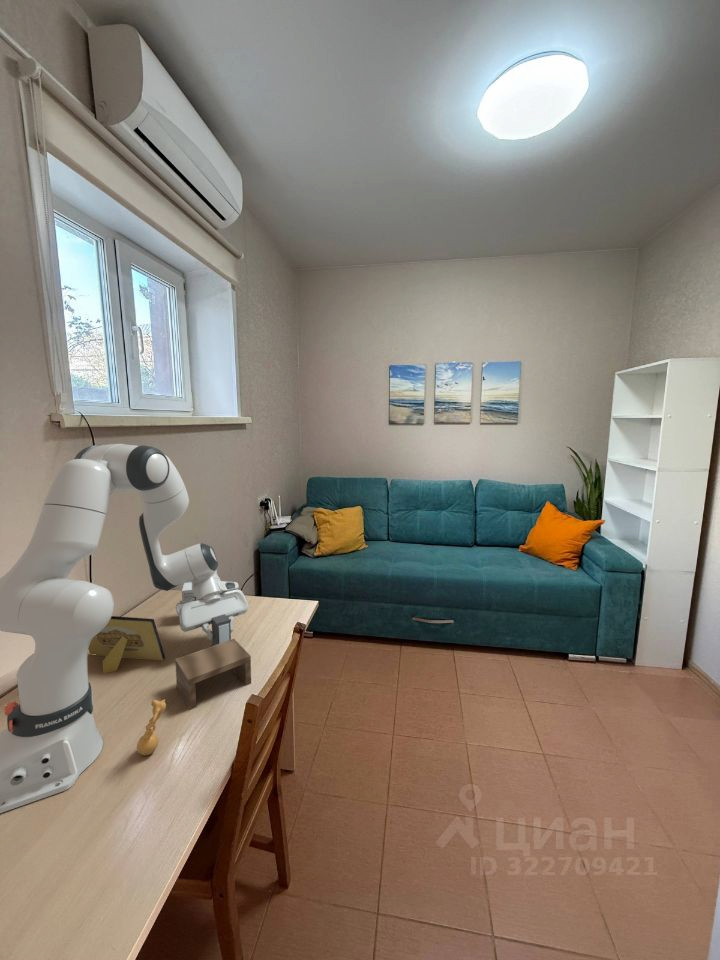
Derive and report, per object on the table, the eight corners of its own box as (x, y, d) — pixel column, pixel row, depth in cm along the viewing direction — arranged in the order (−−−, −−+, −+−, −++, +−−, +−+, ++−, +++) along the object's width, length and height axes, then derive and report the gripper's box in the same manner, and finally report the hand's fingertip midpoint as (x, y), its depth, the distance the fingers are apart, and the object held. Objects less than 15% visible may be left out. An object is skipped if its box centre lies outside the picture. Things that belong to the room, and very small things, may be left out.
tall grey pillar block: (218, 658, 116) (217, 623, 115) (212, 652, 120) (211, 618, 118) (231, 654, 119) (230, 619, 117) (225, 647, 122) (224, 614, 121)
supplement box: (185, 615, 144) (183, 582, 142) (207, 612, 146) (205, 580, 144) (182, 625, 137) (181, 590, 135) (205, 622, 139) (204, 588, 137)
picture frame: (165, 657, 117) (159, 613, 114) (146, 679, 109) (139, 632, 105) (93, 652, 120) (85, 608, 116) (69, 673, 111) (60, 627, 107)
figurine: (146, 737, 88) (143, 688, 86) (174, 735, 88) (171, 686, 87) (129, 769, 79) (125, 716, 78) (161, 767, 80) (157, 713, 79)
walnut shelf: (189, 709, 96) (188, 679, 95) (176, 686, 105) (175, 659, 104) (251, 683, 107) (250, 655, 106) (234, 664, 115) (234, 638, 114)
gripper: (176, 597, 116) (187, 643, 110) (242, 581, 129) (256, 620, 123) (172, 606, 120) (183, 650, 114) (237, 589, 133) (250, 628, 127)
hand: (221, 635), depth 118 cm, fingers closed on tall grey pillar block, 4 cm apart
